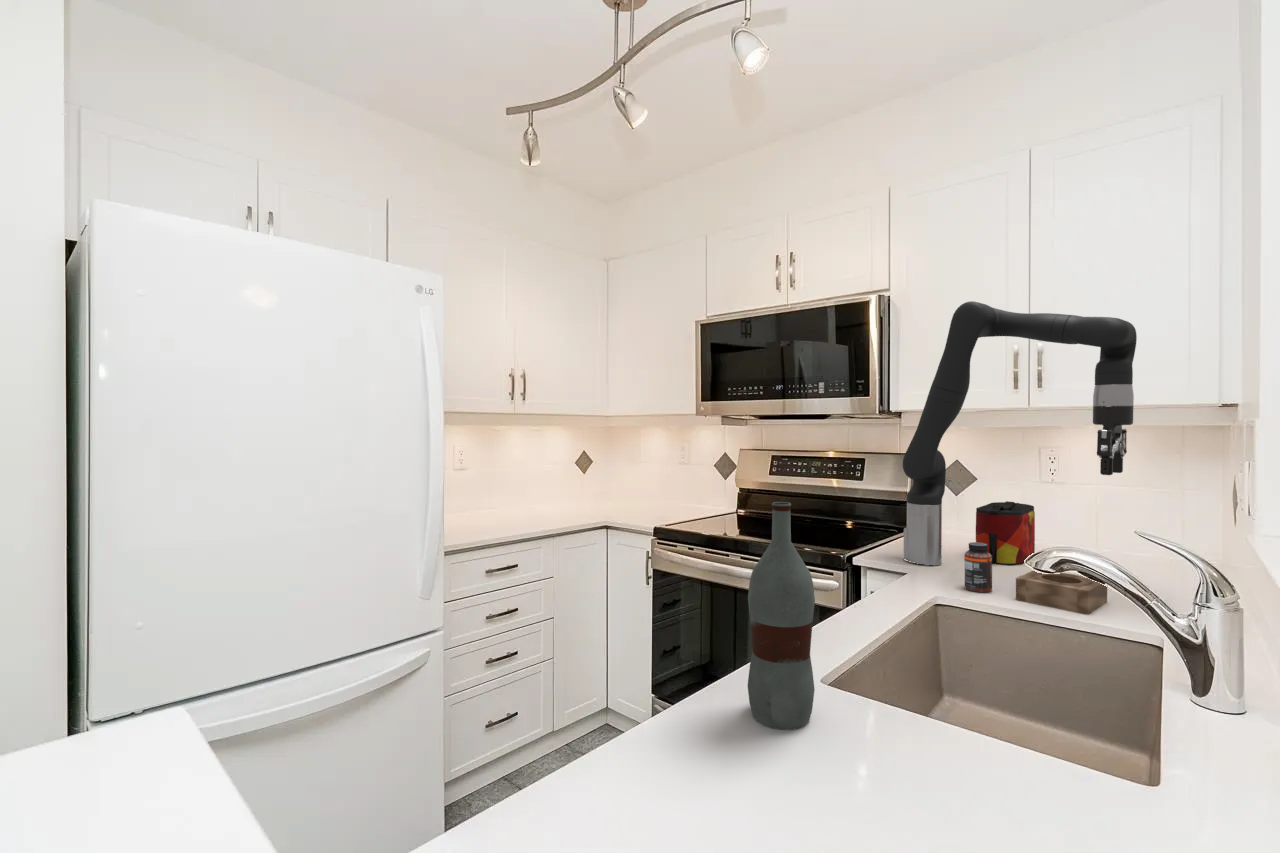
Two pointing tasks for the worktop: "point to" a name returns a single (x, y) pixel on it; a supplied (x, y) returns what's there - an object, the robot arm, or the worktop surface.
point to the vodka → (781, 631)
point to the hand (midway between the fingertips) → (1111, 473)
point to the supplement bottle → (978, 568)
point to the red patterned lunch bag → (1006, 531)
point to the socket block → (1061, 591)
